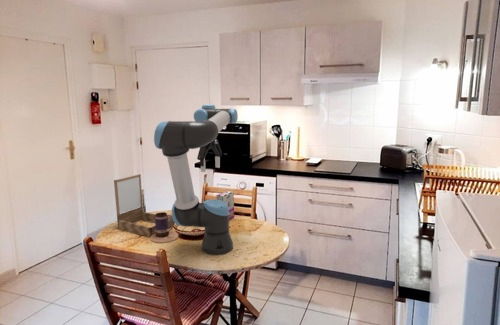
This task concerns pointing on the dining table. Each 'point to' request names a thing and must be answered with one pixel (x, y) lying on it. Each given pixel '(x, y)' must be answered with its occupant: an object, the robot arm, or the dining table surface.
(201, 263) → the dining table surface
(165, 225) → the mug
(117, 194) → the lid
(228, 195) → the candy bar box
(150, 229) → the cold frame
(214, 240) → the robot arm
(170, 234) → the saucer
